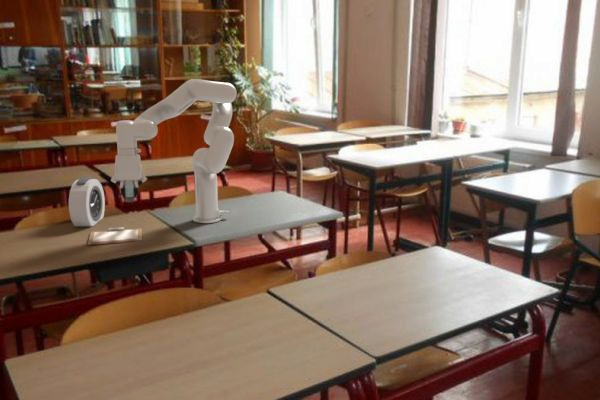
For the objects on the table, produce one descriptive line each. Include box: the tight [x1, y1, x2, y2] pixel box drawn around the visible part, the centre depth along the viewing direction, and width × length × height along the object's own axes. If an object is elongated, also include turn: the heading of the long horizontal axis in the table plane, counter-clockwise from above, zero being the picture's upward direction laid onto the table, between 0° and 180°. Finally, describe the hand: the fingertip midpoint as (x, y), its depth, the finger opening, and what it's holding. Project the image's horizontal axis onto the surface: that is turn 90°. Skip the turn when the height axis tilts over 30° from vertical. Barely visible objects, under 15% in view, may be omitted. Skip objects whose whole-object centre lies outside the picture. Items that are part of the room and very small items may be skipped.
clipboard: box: [87, 226, 143, 246], centre depth 229 cm, size 20×16×2 cm
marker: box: [123, 180, 136, 203], centre depth 229 cm, size 4×4×10 cm
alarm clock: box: [68, 176, 106, 228], centre depth 247 cm, size 21×8×20 cm, turn 179°
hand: (129, 196), depth 230 cm, fingers closed on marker, 3 cm apart
